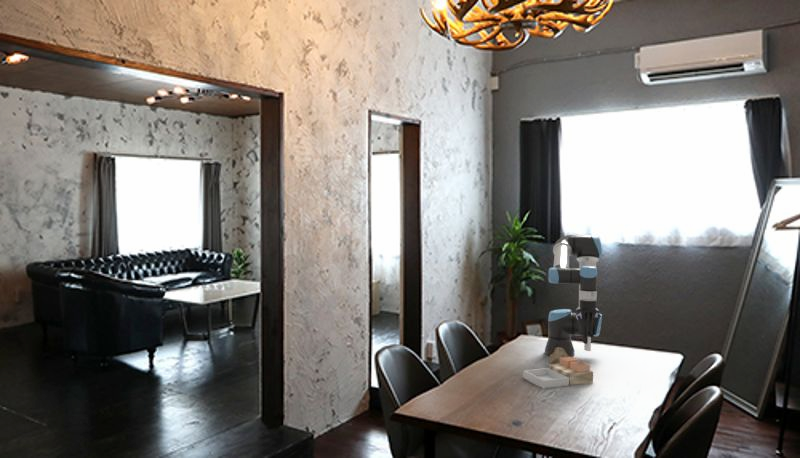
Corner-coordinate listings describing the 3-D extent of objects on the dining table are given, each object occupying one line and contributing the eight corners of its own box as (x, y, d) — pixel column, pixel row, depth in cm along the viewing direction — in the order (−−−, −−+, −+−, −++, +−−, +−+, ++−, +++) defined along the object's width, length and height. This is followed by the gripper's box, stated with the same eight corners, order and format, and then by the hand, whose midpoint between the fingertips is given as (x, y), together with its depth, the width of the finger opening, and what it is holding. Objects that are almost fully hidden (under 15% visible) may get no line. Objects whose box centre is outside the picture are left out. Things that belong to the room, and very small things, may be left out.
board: (548, 375, 265) (549, 364, 265) (571, 372, 269) (571, 362, 269) (569, 385, 250) (570, 374, 250) (592, 382, 254) (593, 371, 254)
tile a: (559, 364, 266) (559, 357, 266) (570, 362, 268) (570, 356, 268) (567, 367, 260) (567, 361, 260) (578, 366, 262) (578, 359, 262)
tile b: (570, 368, 258) (570, 362, 258) (581, 367, 260) (581, 361, 260) (578, 372, 252) (578, 365, 252) (589, 371, 254) (589, 364, 254)
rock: (576, 356, 276) (558, 342, 280) (567, 364, 266) (549, 350, 270) (564, 372, 280) (547, 359, 285) (555, 381, 270) (538, 367, 274)
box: (523, 378, 261) (523, 370, 261) (548, 375, 265) (548, 367, 265) (543, 388, 246) (543, 380, 246) (568, 385, 250) (569, 377, 250)
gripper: (581, 301, 260) (580, 353, 261) (605, 300, 264) (604, 351, 265) (571, 299, 267) (570, 349, 268) (594, 298, 272) (594, 347, 272)
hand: (587, 350), depth 266 cm, fingers closed
